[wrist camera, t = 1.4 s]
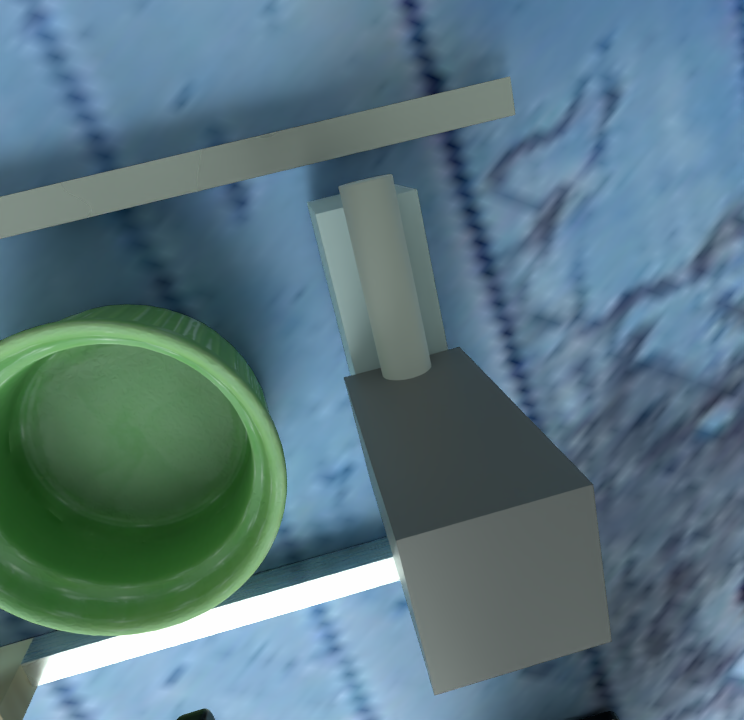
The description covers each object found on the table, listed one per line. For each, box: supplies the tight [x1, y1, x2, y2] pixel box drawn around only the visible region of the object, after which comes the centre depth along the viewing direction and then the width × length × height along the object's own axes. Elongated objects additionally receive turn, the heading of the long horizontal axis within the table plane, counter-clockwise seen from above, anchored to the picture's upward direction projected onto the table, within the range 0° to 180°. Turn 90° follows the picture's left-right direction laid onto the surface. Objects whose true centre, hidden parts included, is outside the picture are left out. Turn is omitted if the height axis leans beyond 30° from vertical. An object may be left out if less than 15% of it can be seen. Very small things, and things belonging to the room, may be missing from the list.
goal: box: [0, 77, 515, 720], centre depth 17 cm, size 31×15×5 cm, turn 103°
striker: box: [307, 174, 612, 695], centre depth 15 cm, size 3×12×11 cm, turn 13°
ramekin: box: [0, 304, 287, 636], centre depth 18 cm, size 9×9×4 cm
